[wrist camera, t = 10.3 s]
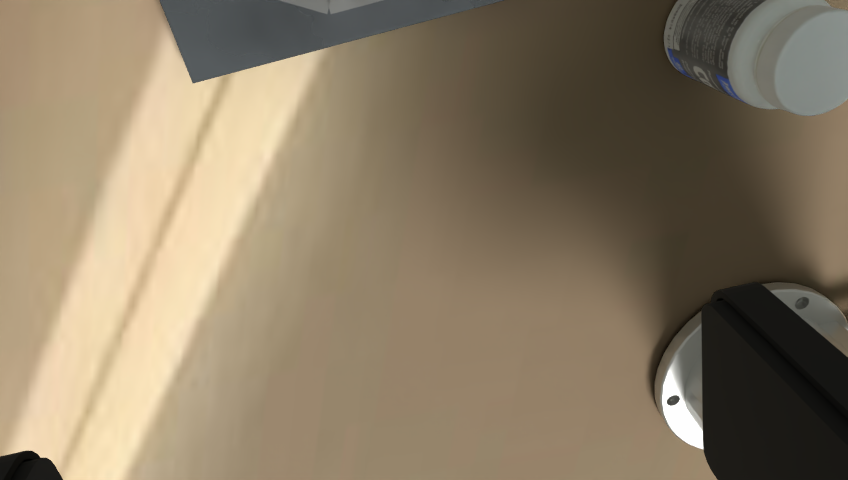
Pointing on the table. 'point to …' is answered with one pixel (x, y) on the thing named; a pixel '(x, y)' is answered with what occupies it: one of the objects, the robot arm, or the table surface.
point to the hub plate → (285, 27)
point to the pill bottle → (763, 51)
